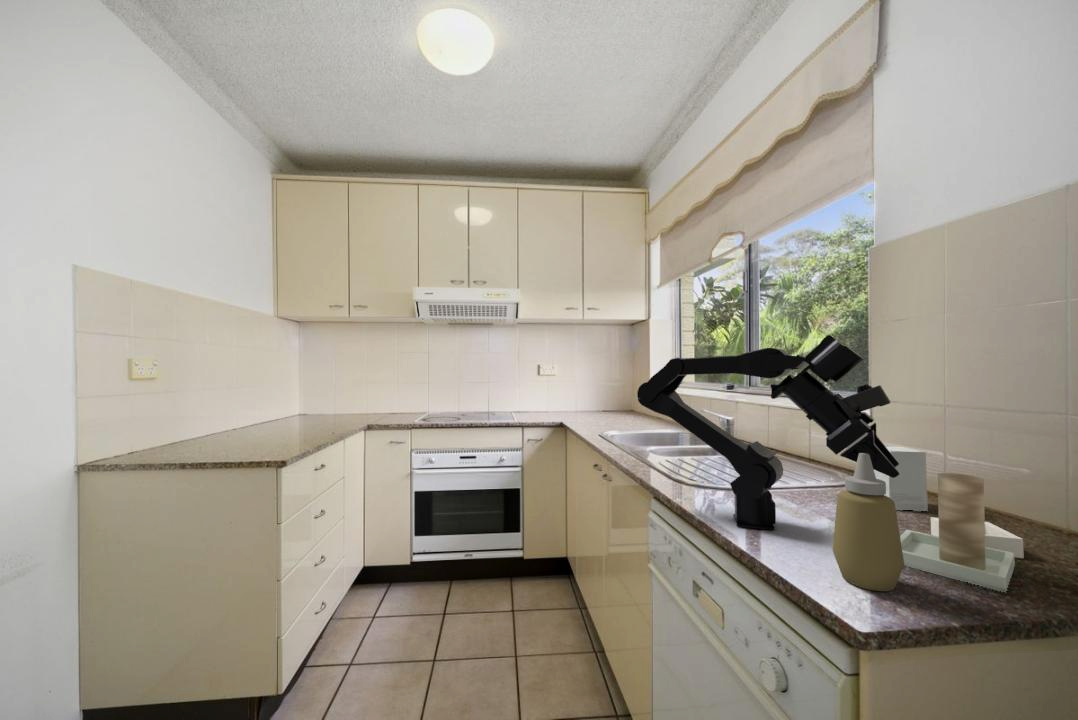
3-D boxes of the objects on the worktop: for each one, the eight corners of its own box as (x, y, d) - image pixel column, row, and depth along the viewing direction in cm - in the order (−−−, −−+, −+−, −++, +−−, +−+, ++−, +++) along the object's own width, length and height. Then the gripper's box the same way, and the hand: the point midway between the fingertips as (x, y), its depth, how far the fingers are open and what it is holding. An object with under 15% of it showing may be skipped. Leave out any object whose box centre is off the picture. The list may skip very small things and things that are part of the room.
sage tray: (1006, 593, 57) (1005, 578, 57) (887, 561, 67) (886, 548, 67) (1014, 566, 65) (1014, 553, 65) (907, 541, 75) (906, 529, 75)
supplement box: (929, 512, 90) (927, 452, 90) (889, 510, 92) (887, 450, 92) (906, 502, 97) (905, 446, 98) (869, 500, 99) (868, 445, 99)
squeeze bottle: (882, 602, 55) (878, 461, 56) (820, 575, 62) (817, 451, 63) (918, 589, 58) (914, 456, 59) (854, 565, 66) (851, 447, 66)
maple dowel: (940, 563, 65) (938, 477, 65) (938, 552, 69) (936, 471, 69) (988, 574, 62) (986, 483, 62) (982, 561, 65) (981, 476, 66)
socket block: (958, 551, 70) (957, 533, 71) (931, 533, 78) (930, 517, 78) (1023, 558, 68) (1023, 539, 68) (988, 539, 76) (988, 521, 76)
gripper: (849, 368, 67) (949, 447, 59) (857, 368, 81) (938, 432, 74) (792, 415, 72) (878, 494, 64) (809, 408, 86) (881, 471, 79)
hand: (896, 470), depth 70 cm, fingers open, 9 cm apart
